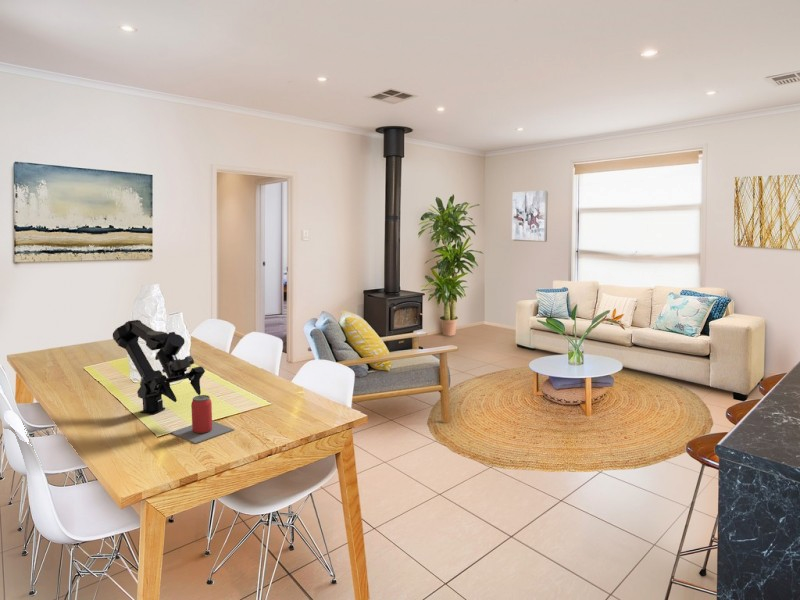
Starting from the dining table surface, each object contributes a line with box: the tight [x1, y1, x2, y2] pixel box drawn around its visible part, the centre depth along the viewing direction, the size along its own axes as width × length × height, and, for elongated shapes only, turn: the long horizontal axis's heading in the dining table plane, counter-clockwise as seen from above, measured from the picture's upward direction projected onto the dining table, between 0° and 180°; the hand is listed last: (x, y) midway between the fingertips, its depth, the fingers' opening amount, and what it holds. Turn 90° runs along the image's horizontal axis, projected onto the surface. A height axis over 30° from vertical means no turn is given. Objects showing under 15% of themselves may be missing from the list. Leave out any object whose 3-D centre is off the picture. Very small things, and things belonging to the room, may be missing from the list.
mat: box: [170, 420, 235, 445], centre depth 181 cm, size 15×15×1 cm
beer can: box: [191, 394, 213, 433], centre depth 180 cm, size 7×7×12 cm
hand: (188, 397), depth 184 cm, fingers open, 9 cm apart
